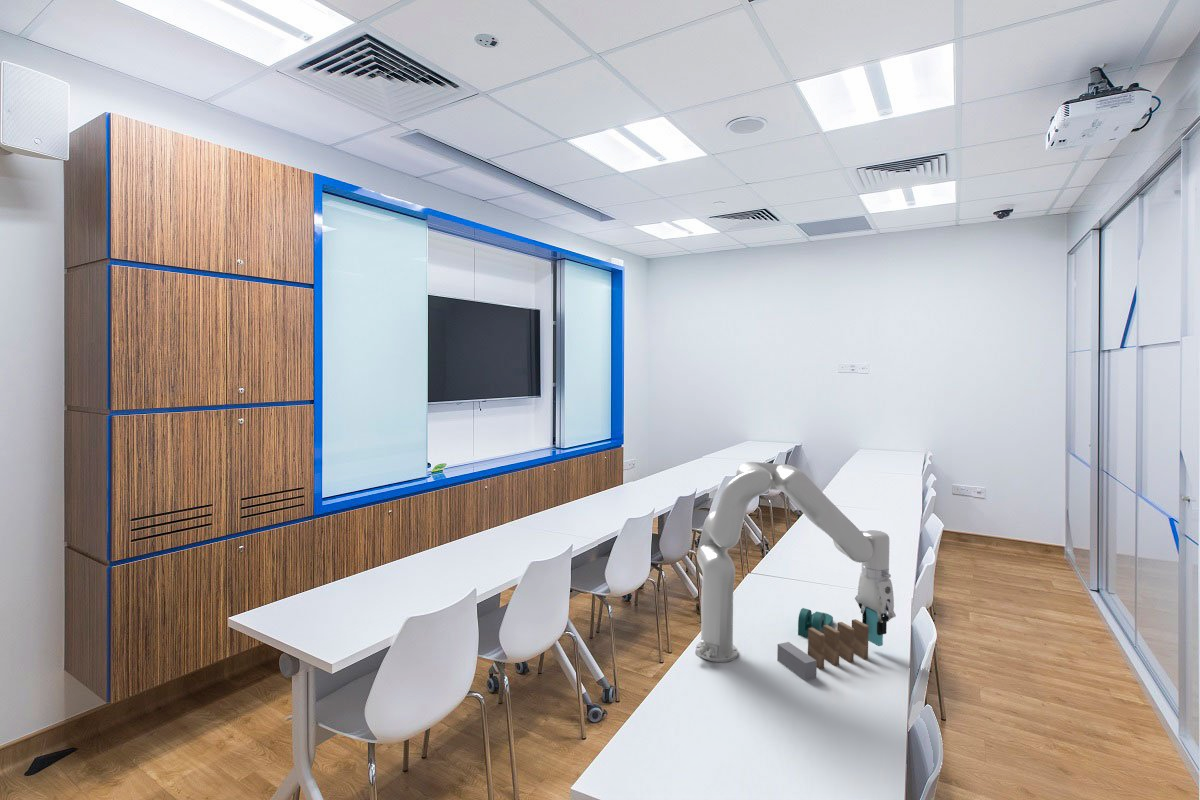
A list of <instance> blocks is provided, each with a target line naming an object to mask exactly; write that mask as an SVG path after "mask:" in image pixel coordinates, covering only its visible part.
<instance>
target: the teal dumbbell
mask: <svg viewBox="0 0 1200 800" xmlns="http://www.w3.org/2000/svg"><path fill="white" fill-rule="evenodd" d="M797 619H798V621H797V635H798V636H800V635H801V636H800V637H804V638H807V637H808V628H814V629H816V630H818V631H819V632H821V633H823V626H824V625H829V626H830V627H833V625H834V617H833V616H832V615H831V614H829V613H826V612H820V611H815V612H812V610H811V609H808V608H805V607H802V608H801V609H800V610H799V613H798V618H797Z"/></svg>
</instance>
